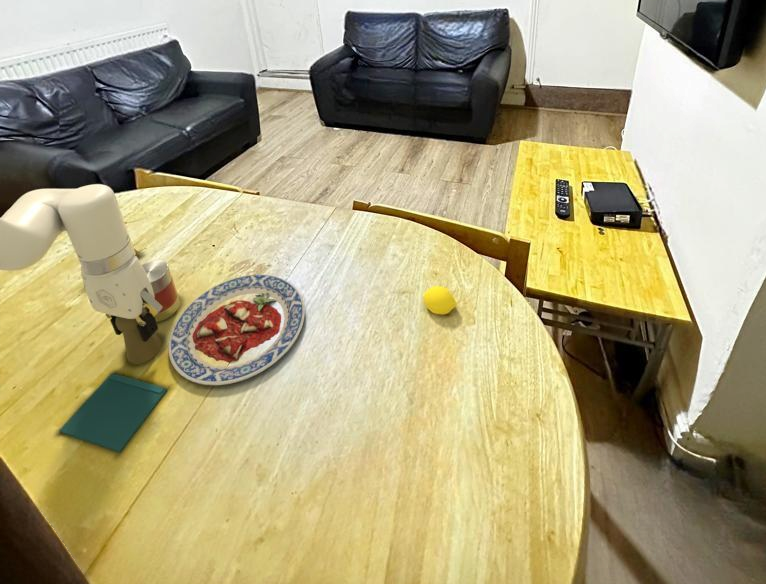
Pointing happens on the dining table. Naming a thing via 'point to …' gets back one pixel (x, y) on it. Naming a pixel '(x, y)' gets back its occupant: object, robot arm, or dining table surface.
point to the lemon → (439, 300)
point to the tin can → (162, 288)
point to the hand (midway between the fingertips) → (137, 331)
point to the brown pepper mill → (137, 341)
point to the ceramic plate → (235, 329)
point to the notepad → (114, 412)
